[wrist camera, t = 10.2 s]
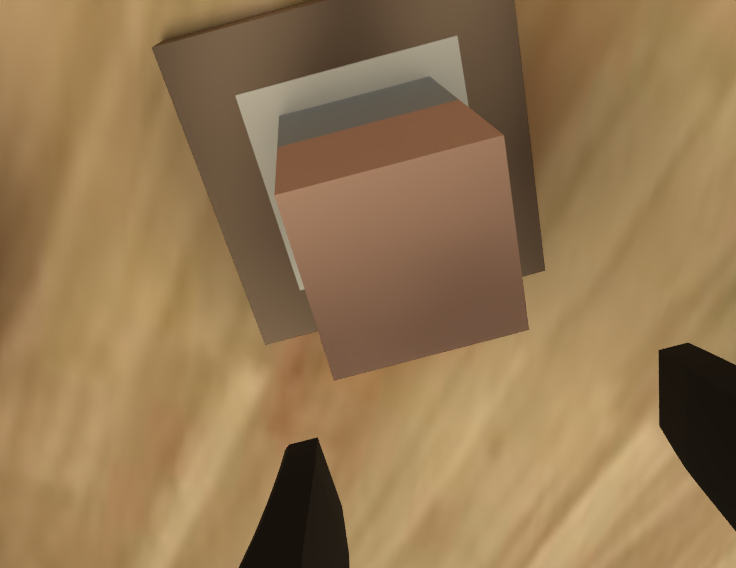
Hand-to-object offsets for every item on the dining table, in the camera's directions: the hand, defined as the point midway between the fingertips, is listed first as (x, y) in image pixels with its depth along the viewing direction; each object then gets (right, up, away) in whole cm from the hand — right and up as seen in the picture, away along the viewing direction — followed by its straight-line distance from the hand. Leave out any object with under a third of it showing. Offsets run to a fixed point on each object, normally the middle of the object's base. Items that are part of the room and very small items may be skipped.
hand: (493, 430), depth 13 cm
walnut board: (-3, +7, +8) cm, 11 cm away
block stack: (-3, +7, +6) cm, 9 cm away
